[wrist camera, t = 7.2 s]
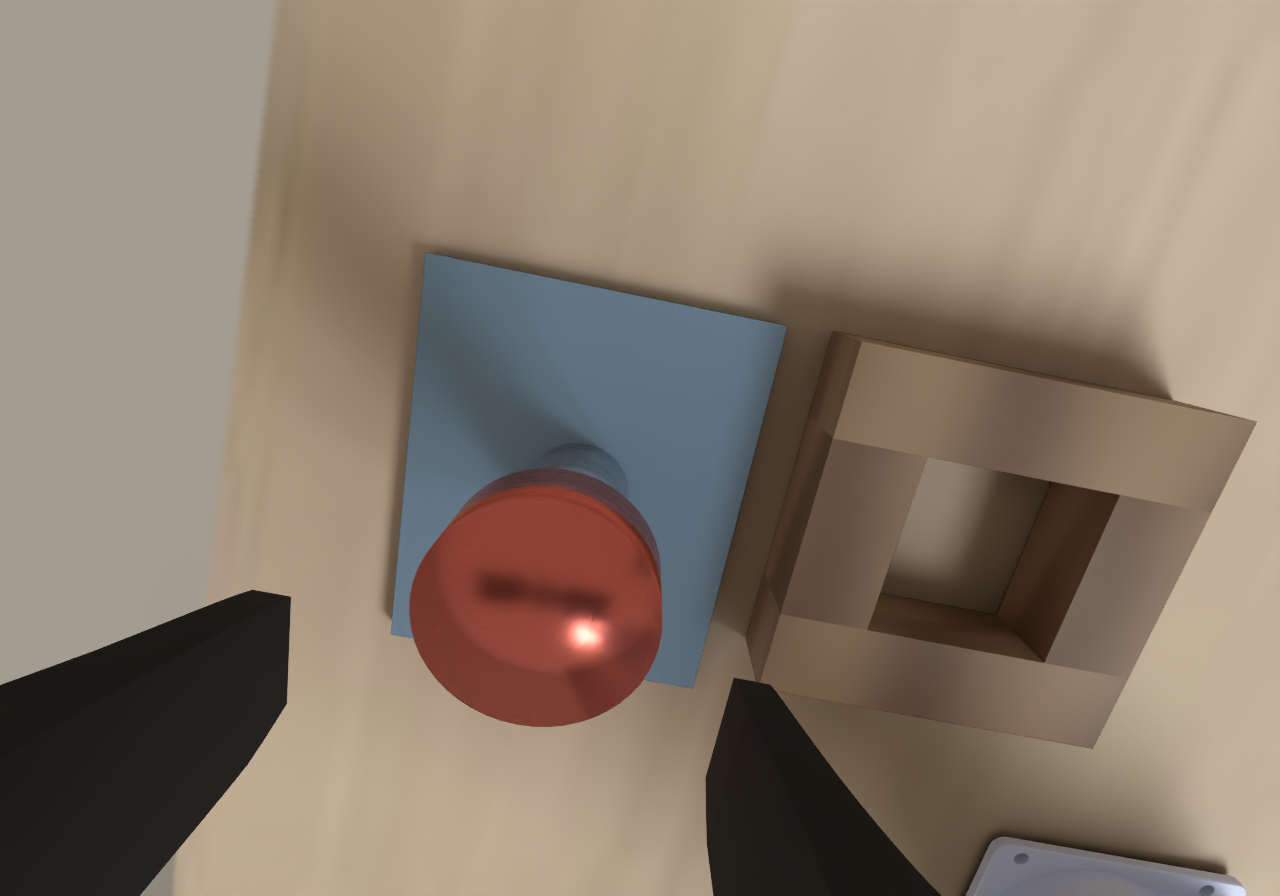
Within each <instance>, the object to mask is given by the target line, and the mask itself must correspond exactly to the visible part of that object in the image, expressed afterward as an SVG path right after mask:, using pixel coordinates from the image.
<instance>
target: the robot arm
mask: <svg viewBox="0 0 1280 896" xmlns="http://www.w3.org/2000/svg"><path fill="white" fill-rule="evenodd" d="M290 604H291V597H289V596H283V595H278V594H272V593H267V592H261V591H256V590H251V591H247V592H244V593H241V594H238V595H235V596H232V597H230V598H227V599H224V600H222V601H219V602H216V603H214V604H211V605H209V606H206V607H204V608H201V609H198V610H196V611H193V612H191V613H188V614H186V615H184V616H181V617H179V618H176V619H173V620H171V621H169V622H166V623H164V624H161V625H158V626H156V627H153V628H151V629H148V630H146V631H143V632H141V633H138V634H136V635H133V636H131V637H128V638H126V639H123V640H121V641H118V642H115V643H113V644H111V645H108V646H106V647H103V648H100V649H98V650H95V651H93V652H90V653H87V654H85V655H82V656H79V657H76V658H73V659H71V660H68V661H65V662H62V663H60V664H57V665H55V666H52V667H49V668H46V669H44V670H41V671H38V672H35V673H32V674H30V675H27V676H24V677H21V678H19V679H16V680H13V681H10V682H8V683H5V684H2V685H0V896H140V895H141V893H142V892H143V891H144V890H145V888H146V887H147V886H148V885H149V884H150V883H151V881H152V880H153V879H154V878H155V876H156V875H157V874H158V873H159V872H160V871H161V869H162V868H163V867H164V866H165V865H166V863H167V862H168V861H169V860H170V858H171V857H172V856H173V855H174V854H175V852H176V851H177V850H178V849H179V848H180V846H181V845H182V844H183V843H184V842H185V840H186V839H187V838H188V837H189V836H190V834H191V833H192V832H193V831H194V830H195V828H196V827H197V826H198V825H199V824H200V822H201V821H202V820H203V819H204V818H205V816H206V815H207V814H208V813H209V811H210V810H211V809H212V808H213V807H214V805H215V804H216V803H217V802H218V800H219V799H220V798H221V797H222V796H223V794H224V793H225V792H226V791H227V789H228V788H229V787H230V786H231V785H232V783H233V782H234V781H235V780H236V778H237V777H238V776H239V775H240V773H241V772H242V771H243V770H244V768H245V767H246V766H247V765H248V763H249V762H250V760H251V759H252V757H253V756H254V754H255V753H256V751H257V750H258V748H259V747H260V745H261V744H262V742H263V741H264V739H265V738H266V736H267V734H268V733H269V731H270V730H271V728H272V726H273V725H274V723H275V722H276V720H277V718H278V717H279V715H280V714H281V712H282V710H283V709H284V707H285V706H286V704H287V684H288V657H289V631H290ZM706 825H707V848H708V856H709V864H710V872H711V880H712V887H713V895H714V896H941V895H940V894H939V893H938V892H937V891H936V890H935V889H934V888H933V887H932V886H931V885H930V884H929V883H928V882H927V881H926V880H925V878H924V877H923V876H922V875H921V874H920V873H919V872H918V871H917V870H916V869H915V867H914V866H913V865H912V864H911V863H910V862H909V861H908V860H907V859H906V857H905V856H904V855H903V854H902V853H901V852H900V851H899V849H898V848H897V847H896V846H895V845H894V844H893V842H892V841H891V840H890V839H889V838H888V837H887V835H886V834H885V833H884V832H883V831H882V829H881V828H880V827H879V826H878V825H877V824H876V822H875V821H874V820H873V819H872V818H871V817H870V815H869V814H868V813H867V812H866V810H865V809H864V808H863V807H862V806H861V804H860V803H859V802H858V801H857V799H856V798H855V797H854V796H853V794H852V793H851V792H850V791H849V789H848V788H847V787H846V785H845V784H844V783H843V782H842V780H841V779H840V778H839V776H838V775H837V774H836V773H835V771H834V770H833V769H832V767H831V766H830V765H829V763H828V762H827V761H826V759H825V758H824V757H823V755H822V754H821V753H820V751H819V750H818V749H817V747H816V746H815V745H814V743H813V742H812V740H811V739H810V738H809V736H808V735H807V734H806V732H805V731H804V729H803V728H802V727H801V725H800V724H799V723H798V721H797V720H796V718H795V717H794V716H793V714H792V713H791V711H790V710H789V709H788V707H787V706H786V705H785V703H784V702H783V700H782V699H781V698H780V696H779V695H778V694H777V692H776V691H775V690H774V688H773V687H772V686H771V685H770V684H765V683H759V682H754V681H748V680H743V679H737V678H734V680H733V683H732V687H731V690H730V694H729V697H728V701H727V704H726V708H725V711H724V715H723V718H722V722H721V726H720V729H719V733H718V736H717V740H716V743H715V747H714V750H713V754H712V757H711V761H710V764H709V768H708V771H707V775H706ZM966 896H1246V888H1245V887H1244V886H1243V885H1242V884H1241V883H1240V882H1239V881H1238V880H1237V879H1236V878H1235V877H1232V876H1229V875H1223V874H1217V873H1211V872H1206V871H1200V870H1194V869H1188V868H1183V867H1177V866H1171V865H1165V864H1160V863H1154V862H1148V861H1142V860H1137V859H1131V858H1125V857H1119V856H1114V855H1108V854H1102V853H1096V852H1091V851H1085V850H1079V849H1073V848H1068V847H1062V846H1056V845H1050V844H1045V843H1039V842H1033V841H1027V840H1022V839H1016V838H1010V837H999V838H996V839H995V840H993V841H992V842H991V843H990V845H989V847H988V849H987V851H986V853H985V856H984V858H983V860H982V862H981V864H980V866H979V868H978V870H977V873H976V875H975V877H974V879H973V881H972V883H971V885H970V888H969V890H968V892H967V894H966Z"/></svg>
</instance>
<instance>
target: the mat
mask: <svg viewBox="0 0 1280 896" xmlns="http://www.w3.org/2000/svg"><path fill="white" fill-rule="evenodd" d="M787 327H788V326H785V325H782V324H777V323H772V322H767V321H763V320H758V319H753V318H748V317H743V316H738V315H733V314H728V313H723V312H718V311H713V310H708V309H704V308H699V307H694V306H689V305H684V304H679V303H674V302H669V301H664V300H659V299H654V298H649V297H645V296H640V295H635V294H630V293H625V292H620V291H615V290H610V289H605V288H600V287H595V286H590V285H586V284H581V283H576V282H571V281H566V280H561V279H556V278H551V277H546V276H541V275H536V274H532V273H527V272H522V271H517V270H512V269H507V268H502V267H497V266H492V265H487V264H482V263H477V262H473V261H468V260H463V259H458V258H453V257H448V256H443V255H438V254H433V253H425V264H424V275H423V286H422V297H421V308H420V319H419V330H418V341H417V352H416V363H415V374H414V385H413V396H412V407H411V418H410V429H409V440H408V451H407V462H406V473H405V483H404V494H403V505H402V516H401V527H400V538H399V549H398V560H397V571H396V582H395V593H394V604H393V615H392V626H391V634H392V635H397V636H403V637H408V638H414V637H413V634H412V630H411V625H410V616H409V600H410V593H411V588H412V583H413V580H414V577H415V574H416V571H417V569H418V567H419V565H420V563H421V561H422V560H423V558H424V556H425V555H426V553H427V552H428V551H429V549H430V548H431V547H432V545H433V544H434V543H435V541H436V540H437V539H438V537H439V536H440V535H441V534H442V532H443V531H444V530H445V529H446V527H447V526H448V525H449V524H450V522H451V521H452V520H453V518H454V517H455V516H456V515H457V513H458V512H459V511H460V510H461V508H462V507H463V506H464V504H465V503H466V502H467V501H468V500H469V499H470V498H471V497H472V496H473V495H474V494H475V493H477V492H478V491H479V490H481V489H482V488H483V487H485V486H486V485H488V484H489V483H491V482H493V481H495V480H497V479H499V478H501V477H504V476H506V475H509V474H511V473H515V472H519V471H523V470H529V469H533V468H534V466H535V464H536V463H537V462H538V460H539V459H540V458H541V457H542V456H543V455H544V454H546V453H547V452H548V451H550V450H552V449H554V448H556V447H558V446H561V445H565V444H572V443H581V444H588V445H592V446H595V447H597V448H600V449H601V450H603V451H605V452H607V453H608V454H609V455H611V456H612V457H613V458H614V459H615V460H616V461H617V463H618V464H619V465H620V467H621V468H622V470H623V472H624V474H625V476H626V480H627V484H628V500H629V501H630V502H631V503H632V504H633V505H634V506H635V507H636V508H637V510H638V511H639V512H640V513H641V514H642V516H643V517H644V519H645V520H646V522H647V524H648V525H649V527H650V529H651V531H652V533H653V536H654V538H655V540H656V544H657V547H658V551H659V556H660V564H661V586H662V635H661V641H660V646H659V649H658V652H657V655H656V658H655V660H654V662H653V664H652V666H651V668H650V670H649V672H648V674H647V675H646V676H645V678H644V679H643V680H648V681H653V682H659V683H664V684H670V685H675V686H681V687H687V688H692V689H693V685H694V681H695V678H696V674H697V670H698V666H699V662H700V659H701V655H702V651H703V647H704V643H705V639H706V636H707V632H708V628H709V624H710V620H711V617H712V613H713V609H714V605H715V601H716V597H717V594H718V590H719V586H720V582H721V578H722V575H723V571H724V567H725V563H726V559H727V556H728V552H729V548H730V544H731V540H732V536H733V533H734V529H735V525H736V521H737V517H738V514H739V510H740V506H741V502H742V498H743V495H744V491H745V487H746V483H747V479H748V475H749V472H750V468H751V464H752V460H753V456H754V453H755V449H756V445H757V441H758V437H759V434H760V430H761V426H762V422H763V418H764V414H765V411H766V407H767V403H768V399H769V395H770V392H771V388H772V384H773V380H774V376H775V373H776V369H777V365H778V361H779V357H780V353H781V350H782V346H783V342H784V338H785V334H786V331H787Z"/></svg>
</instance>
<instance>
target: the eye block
mask: <svg viewBox="0 0 1280 896" xmlns="http://www.w3.org/2000/svg"><path fill="white" fill-rule="evenodd" d="M1256 423H1257V422H1256V421H1252V420H1248V419H1244V418H1240V417H1236V416H1232V415H1229V414H1225V413H1221V412H1217V411H1213V410H1209V409H1205V408H1201V407H1197V406H1193V405H1190V404H1186V403H1182V402H1178V401H1174V400H1169V399H1164V398H1159V397H1154V396H1149V395H1144V394H1139V393H1134V392H1130V391H1125V390H1120V389H1115V388H1110V387H1105V386H1100V385H1095V384H1090V383H1085V382H1080V381H1076V380H1071V379H1066V378H1061V377H1056V376H1051V375H1046V374H1041V373H1036V372H1031V371H1026V370H1021V369H1017V368H1012V367H1007V366H1002V365H997V364H992V363H987V362H982V361H977V360H972V359H967V358H963V357H958V356H953V355H948V354H943V353H938V352H933V351H928V350H923V349H918V348H913V347H909V346H904V345H899V344H894V343H889V342H884V341H879V340H874V339H869V338H864V337H859V336H855V335H850V334H845V333H840V332H835V331H833V332H832V336H831V339H830V343H829V346H828V350H827V354H826V357H825V361H824V364H823V368H822V371H821V375H820V378H819V382H818V385H817V389H816V392H815V396H814V399H813V403H812V406H811V410H810V413H809V417H808V420H807V424H806V427H805V431H804V435H803V438H802V442H801V445H800V449H799V452H798V456H797V459H796V463H795V466H794V470H793V473H792V477H791V480H790V484H789V487H788V491H787V494H786V498H785V501H784V505H783V509H782V512H781V516H780V519H779V523H778V526H777V530H776V533H775V537H774V540H773V544H772V547H771V551H770V554H769V558H768V561H767V565H766V568H765V572H764V575H763V579H762V582H761V586H760V590H759V593H758V597H757V600H756V604H755V607H754V611H753V614H752V618H751V621H750V625H749V628H748V632H747V635H746V642H747V646H748V650H749V654H750V658H751V662H752V665H753V669H754V673H755V677H756V681H757V682H759V683H765V684H770V685H771V686H772V687H773V688H774V690H775V691H776V692H781V693H787V694H792V695H798V696H803V697H809V698H814V699H820V700H825V701H831V702H836V703H842V704H847V705H853V706H859V707H864V708H870V709H875V710H881V711H886V712H892V713H897V714H903V715H908V716H914V717H920V718H925V719H931V720H936V721H942V722H947V723H953V724H958V725H964V726H969V727H975V728H981V729H986V730H992V731H997V732H1003V733H1008V734H1014V735H1019V736H1025V737H1030V738H1036V739H1041V740H1047V741H1053V742H1058V743H1064V744H1069V745H1075V746H1080V747H1086V748H1091V749H1093V747H1094V745H1095V743H1096V741H1097V739H1098V737H1099V735H1100V733H1101V731H1102V729H1103V727H1104V725H1105V724H1106V722H1107V720H1108V718H1109V716H1110V714H1111V712H1112V710H1113V708H1114V706H1115V704H1116V702H1117V700H1118V698H1119V696H1120V694H1121V692H1122V690H1123V688H1124V686H1125V684H1126V682H1127V680H1128V678H1129V676H1130V674H1131V672H1132V670H1133V668H1134V666H1135V664H1136V662H1137V660H1138V658H1139V656H1140V654H1141V652H1142V650H1143V648H1144V646H1145V644H1146V642H1147V640H1148V638H1149V636H1150V634H1151V632H1152V630H1153V628H1154V626H1155V624H1156V622H1157V620H1158V618H1159V616H1160V614H1161V612H1162V610H1163V608H1164V606H1165V604H1166V602H1167V600H1168V598H1169V596H1170V594H1171V592H1172V590H1173V588H1174V586H1175V584H1176V582H1177V580H1178V578H1179V576H1180V574H1181V572H1182V570H1183V568H1184V566H1185V564H1186V562H1187V560H1188V558H1189V556H1190V554H1191V552H1192V550H1193V548H1194V546H1195V544H1196V542H1197V540H1198V538H1199V536H1200V534H1201V532H1202V530H1203V528H1204V526H1205V524H1206V522H1207V520H1208V518H1209V516H1210V514H1211V512H1212V510H1213V508H1214V506H1215V504H1216V502H1217V501H1218V499H1219V497H1220V495H1221V493H1222V491H1223V489H1224V487H1225V485H1226V483H1227V481H1228V479H1229V477H1230V475H1231V473H1232V471H1233V469H1234V467H1235V465H1236V463H1237V461H1238V459H1239V457H1240V455H1241V453H1242V451H1243V449H1244V447H1245V445H1246V443H1247V441H1248V439H1249V437H1250V435H1251V433H1252V431H1253V429H1254V427H1255V425H1256ZM927 457H930V458H935V459H940V460H945V461H951V462H956V463H961V464H966V465H971V466H976V467H981V468H986V469H991V470H996V471H1001V472H1006V473H1011V474H1017V475H1022V476H1027V477H1032V478H1037V479H1042V480H1047V481H1052V483H1051V485H1050V488H1049V490H1048V492H1047V495H1046V497H1045V500H1044V502H1043V505H1042V507H1041V509H1040V512H1039V514H1038V517H1037V519H1036V521H1035V524H1034V526H1033V529H1032V531H1031V533H1030V536H1029V538H1028V541H1027V543H1026V546H1025V548H1024V550H1023V553H1022V555H1021V558H1020V560H1019V562H1018V565H1017V567H1016V570H1015V572H1014V574H1013V577H1012V579H1011V582H1010V584H1009V587H1008V589H1007V591H1006V594H1005V596H1004V599H1003V601H1002V603H1001V606H1000V608H999V611H998V613H997V615H994V614H989V613H983V612H978V611H973V610H967V609H962V608H957V607H951V606H946V605H941V604H935V603H930V602H925V601H919V600H914V599H909V598H904V597H898V596H893V595H888V594H882V593H880V592H881V589H882V586H883V583H884V580H885V577H886V574H887V572H888V569H889V566H890V563H891V560H892V557H893V554H894V551H895V549H896V546H897V543H898V540H899V537H900V534H901V531H902V528H903V526H904V523H905V520H906V517H907V514H908V511H909V508H910V505H911V503H912V500H913V497H914V494H915V491H916V488H917V485H918V483H919V480H920V477H921V474H922V471H923V468H924V465H925V462H926V460H927Z"/></svg>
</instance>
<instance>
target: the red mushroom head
mask: <svg viewBox="0 0 1280 896" xmlns="http://www.w3.org/2000/svg"><path fill="white" fill-rule="evenodd" d="M409 616H410V625H411V630H412V634H413V637H414V641H415V644H416V646H417V648H418V651H419V653H420V655H421V657H422V659H423V661H424V662H425V664H426V666H427V667H428V669H429V670H430V671H431V673H432V674H433V675H434V677H435V678H436V679H437V680H438V681H439V682H440V683H441V684H442V685H443V686H444V687H445V688H446V690H447V691H449V692H450V693H451V694H452V695H454V696H455V697H456V698H457V699H459V700H460V701H462V702H463V703H465V704H466V705H468V706H469V707H471V708H473V709H475V710H477V711H479V712H481V713H483V714H485V715H487V716H490V717H493V718H495V719H498V720H501V721H505V722H509V723H513V724H517V725H525V726H533V727H552V726H563V725H568V724H573V723H578V722H581V721H584V720H587V719H591V718H593V717H596V716H598V715H600V714H602V713H604V712H606V711H608V710H610V709H611V708H613V707H614V706H616V705H618V704H619V703H621V702H622V701H623V700H624V699H625V698H627V697H628V696H629V695H630V694H631V693H632V692H633V691H634V690H635V689H636V688H637V687H638V686H639V685H640V684H641V682H642V681H643V679H644V678H645V676H646V675H647V674H648V672H649V670H650V668H651V666H652V664H653V662H654V660H655V658H656V655H657V652H658V649H659V646H660V641H661V635H662V586H661V564H660V556H659V551H658V547H657V544H656V540H655V538H654V536H653V533H652V531H651V529H650V527H649V525H648V524H647V522H646V520H645V519H644V517H643V516H642V514H641V513H640V512H639V511H638V510H637V508H636V507H635V506H634V505H633V504H632V503H631V502H630V501H629V500H628V484H627V480H626V476H625V474H624V472H623V470H622V468H621V467H620V465H619V464H618V463H617V461H616V460H615V459H614V458H613V457H612V456H611V455H609V454H608V453H607V452H605V451H603V450H601V449H600V448H597V447H595V446H592V445H588V444H581V443H572V444H565V445H561V446H558V447H556V448H554V449H552V450H550V451H548V452H547V453H546V454H544V455H543V456H542V457H541V458H540V459H539V460H538V462H537V463H536V464H535V466H534V468H533V469H529V470H523V471H519V472H515V473H511V474H509V475H506V476H504V477H501V478H499V479H497V480H495V481H493V482H491V483H489V484H488V485H486V486H485V487H483V488H482V489H481V490H479V491H478V492H477V493H475V494H474V495H473V496H472V497H471V498H470V499H469V500H468V501H467V502H466V503H465V504H464V506H463V507H462V508H461V510H460V511H459V512H458V513H457V515H456V516H455V517H454V518H453V520H452V521H451V522H450V524H449V525H448V526H447V527H446V529H445V530H444V531H443V532H442V534H441V535H440V536H439V537H438V539H437V540H436V541H435V543H434V544H433V545H432V547H431V548H430V549H429V551H428V552H427V553H426V555H425V556H424V558H423V560H422V561H421V563H420V565H419V567H418V569H417V571H416V574H415V577H414V580H413V583H412V588H411V593H410V600H409Z"/></svg>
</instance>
